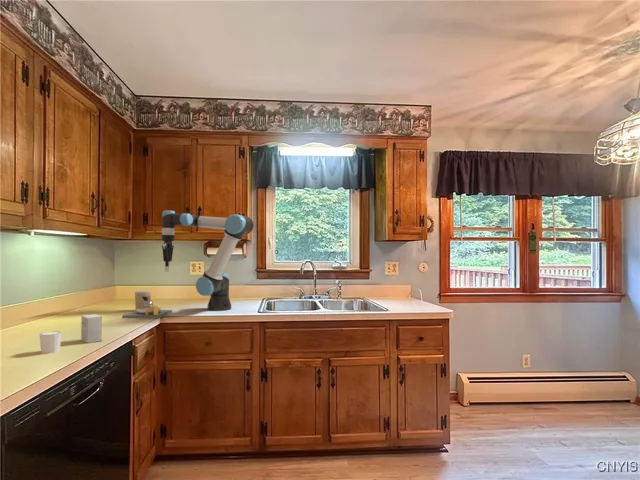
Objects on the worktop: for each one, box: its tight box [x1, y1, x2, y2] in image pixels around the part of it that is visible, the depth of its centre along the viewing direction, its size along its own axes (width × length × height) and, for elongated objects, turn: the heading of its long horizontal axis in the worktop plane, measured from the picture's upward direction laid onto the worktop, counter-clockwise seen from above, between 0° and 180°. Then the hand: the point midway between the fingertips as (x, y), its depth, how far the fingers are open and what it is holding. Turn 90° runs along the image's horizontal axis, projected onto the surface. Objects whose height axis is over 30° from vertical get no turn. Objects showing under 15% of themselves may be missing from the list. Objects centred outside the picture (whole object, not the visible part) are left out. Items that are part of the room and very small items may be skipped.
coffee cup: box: [134, 290, 152, 310], centre depth 235 cm, size 9×9×12 cm
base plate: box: [122, 308, 173, 319], centre depth 219 cm, size 20×20×6 cm
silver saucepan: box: [135, 300, 162, 315], centre depth 217 cm, size 20×13×6 cm, turn 42°
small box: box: [80, 313, 103, 344], centre depth 159 cm, size 8×6×10 cm
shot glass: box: [39, 330, 63, 355], centre depth 142 cm, size 7×7×7 cm
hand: (167, 271), depth 238 cm, fingers closed
